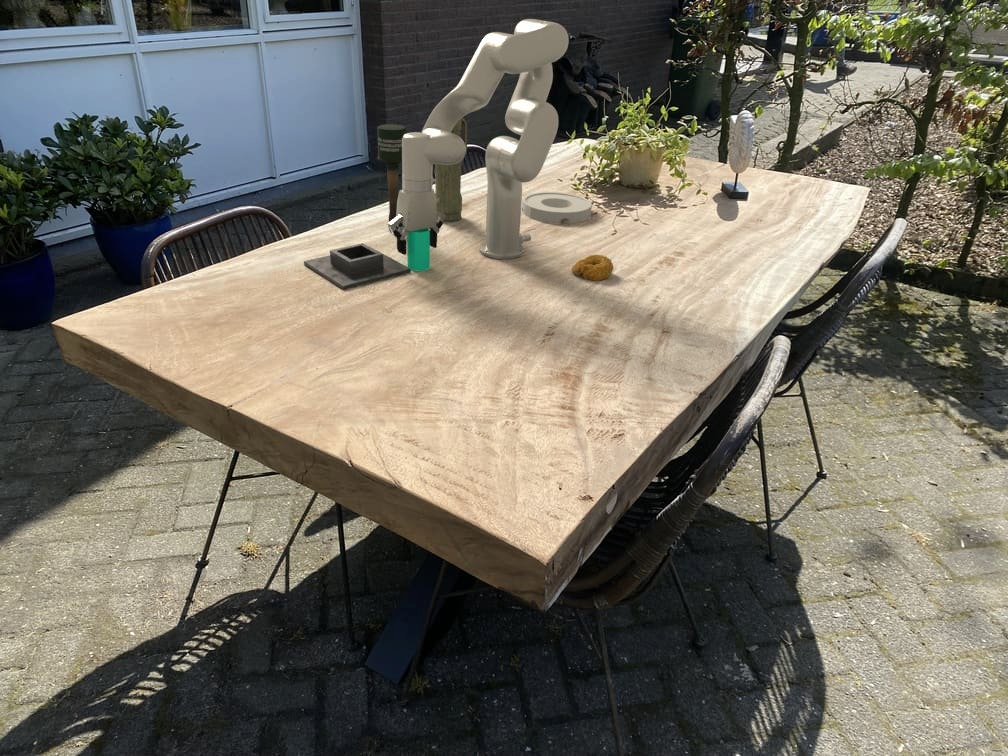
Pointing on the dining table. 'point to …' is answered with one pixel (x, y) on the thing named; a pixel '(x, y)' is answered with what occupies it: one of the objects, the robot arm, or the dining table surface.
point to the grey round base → (556, 207)
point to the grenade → (391, 159)
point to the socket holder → (356, 266)
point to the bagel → (593, 267)
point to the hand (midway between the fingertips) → (417, 249)
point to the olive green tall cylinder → (450, 182)
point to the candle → (418, 249)
